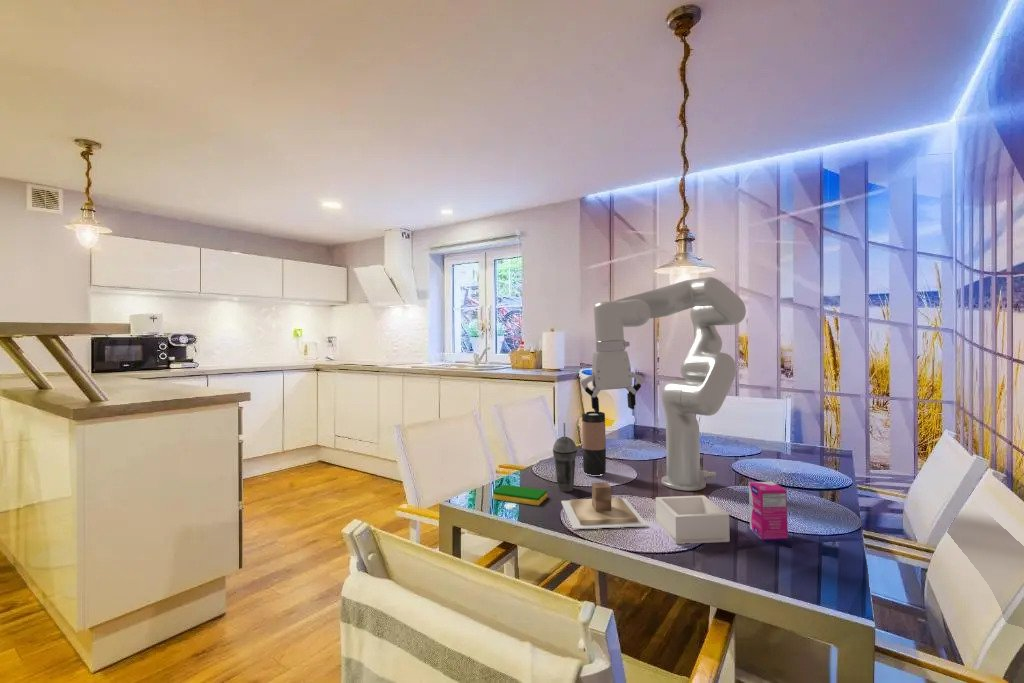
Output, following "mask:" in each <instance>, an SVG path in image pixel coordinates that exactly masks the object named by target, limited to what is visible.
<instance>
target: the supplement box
mask: <svg viewBox="0 0 1024 683" xmlns="http://www.w3.org/2000/svg"><path fill="white" fill-rule="evenodd" d="M787 492H788V491H787V489H785V488H784V487H782V486H781V485H779V484H778V483H776V482H774V481H771V480H770V481H749V482H748V497H749V498H748V502H749V503H748V504H749V506H748V508H749V531H750V532H752V533H753V534H754V535H755V536H757V537H758V538H759V540H761V541H762V542H788V541H789V531H788V530H789V529H788V504H787V503H788V502H787V501H788V500H787V494H788V493H787Z"/></svg>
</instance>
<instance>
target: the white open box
mask: <svg viewBox="0 0 1024 683" xmlns="http://www.w3.org/2000/svg"><path fill="white" fill-rule="evenodd" d="M655 523H656V524H658V525H659V527H660V528H661V529H662V530H663V531H664V532H665V534H666V535H667V536H668V537H669V538H670V539H671V540H672V541H673V543H674V544H675V543H676V544H675V545H685V543H690V544H705V543H706V544H708V543H709V544H710V543H729V542H730V540H731V538H730V514H729V513H728V512H727V511H725V510H724V509H722V508H721V507H720V506H718V505H717V504H716V503H715V502H713V501H712V500H710V499H709V498H708V497H706V496H705V495H681V496H680V495H679V496H678V495H676V496H657V497H655Z"/></svg>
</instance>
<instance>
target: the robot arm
mask: <svg viewBox="0 0 1024 683" xmlns="http://www.w3.org/2000/svg"><path fill="white" fill-rule="evenodd" d="M688 309H690V320H691V324H692V327H693V330H694V331H693V332H694V338H693V341H692V343H691V345H690V346H689V349H688V351H687V353H686V355H685V357H684V358H683V361H682V363H681V366H680V374H681V377H683V379H673V380H670V381H668V382H667V383H665V385H664V386H663V388H662V390H661V399H662V400H661V401H662V405H663V409H664V416H665V417H664V418H665V441H666V442H665V450H666V451H665V452H666V454H665V455H666V456H665V457H666V475H664V476H662V477H661V484H662V486H665V487H667V488H670V489H673V490H677V491H685V492H686V491H687V492H689V491H690V492H691V491H692V492H693V491H700V490H703V489H705V488H706V487H707V485H706V484H707V482H706V481H705V480H707V479H709V480H710V479H717V473H716V471H708V470H706V469H705V470H702V469H701V460H700V459H701V455H700V454H701V450H700V449H701V448H700V445H701V444H700V443H701V442H700V424H699V421H698V419H697V417H696V415H699V416H706V417H710V416H713V415H715V414H717V413H718V412H719V411H720V409H721V408H722V406H723V405H724V401H725V400H726V398H727V395H728V393H729V391H730V389H731V387H732V385H733V382H734V380H735V376H736V374H737V366H736V362H735V360H734V358H733V356H732V355H731V354H728V353H726V352H721V350H722V347H723V340H722V338H721V335H720V334H719V332H718V330H717V328H716V326H731V325H732V326H735V325H738V324H740V323H741V322H743V320H744V319H745V316H746V314H747V308H746V305H745V303H744V301H743V299H742V298H741V297H740V296H739V295H737V294H736V293H735V292H734V291H733V290H732V289H731V288H730V287H728V286H727V285H726V284H725V283H724V282H722V280H719V279H717V278H715V277H710V276H709V277H700V278H694V279H693V278H692V279H687V280H682V281H679V282H676V283H673V284H670V285H666V286H663V287H659V288H655V289H651V290H648V291H645V292H642V293H641V292H640V293H638V294H634V295H630V296H629V295H628V296H626V297H623V298H620V299H619V298H618V299H615V300H610V301H600V302H597V303H595V304H594V307H593V317H594V333H595V348H596V349H595V352H594V353H593V354H592V362H591V363H592V364H591V374H590V375H589V376H587V377H585V378H584V379H582V380H581V381H580V385H581V387H582V388H583V390H584V392H586V393H587V394H588V396H590V398H591V401H590V402H591V408H592V410H593V411H595V412H600V404H599V402H600V400H599V397H598V395H599V393H600V392H601V391H606V390H609V391H610V390H618V389H620V390H621V389H626V390H627V391H628V393H627V394H626V396H627V397H626V398H627V407H628V409H630V410H634V409H635V406H636V404H637V403H636V395H637V392H638V391H640V389H641V388H642V385H643V383H644V380H645V377H643V376H641V375H640V374H637V373H635V372H633V371H632V370H631V369H632V368H631V363H630V357H629V353H628V351H627V350H626V348H627V347H630V341H626V340H625V334H624V332H625V331H624V328H636V327H637V328H638V327H641V326H644V325H645V324H647V323H648V321H650V319H657V318H663V317H664V318H665V317H669V316H672V315H674V314H677V313H681V312H683V311H686V310H688ZM633 378H634V379H636V381H635V384H633ZM589 383H592V385H591V386H592V387H593V388H592V389H591V388H590V387H589V386H588V384H589Z"/></svg>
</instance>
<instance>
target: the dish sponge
mask: <svg viewBox="0 0 1024 683" xmlns="http://www.w3.org/2000/svg"><path fill="white" fill-rule="evenodd" d="M547 492H548V490H547V489H540V488H531V487H525V486H524V487H522V486H516V485H510V484H503V485H501V486H500V487H499V488H497V489H496V490H494V491H493V499H494V500H496V501H497V500H499V501H504V502H511V503H512V502H513V503H517V504H526V505H532V506H540V504H541V503H543V502H544V501H545V500H546V499H547V498H548V493H547Z"/></svg>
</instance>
